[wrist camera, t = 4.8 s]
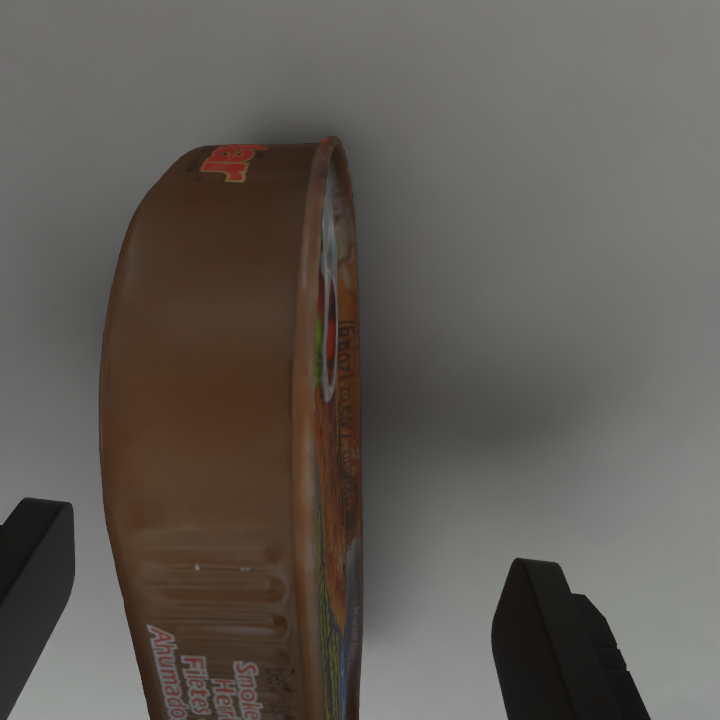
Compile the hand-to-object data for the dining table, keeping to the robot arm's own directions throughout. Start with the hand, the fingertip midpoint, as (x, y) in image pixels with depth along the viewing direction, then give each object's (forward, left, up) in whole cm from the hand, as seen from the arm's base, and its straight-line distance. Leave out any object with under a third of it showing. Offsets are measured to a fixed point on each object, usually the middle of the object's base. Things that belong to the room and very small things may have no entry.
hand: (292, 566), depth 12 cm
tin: (0, 0, -5) cm, 5 cm away
